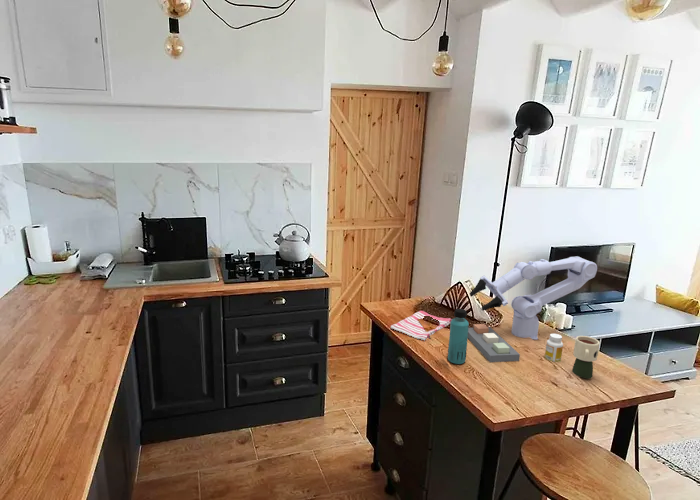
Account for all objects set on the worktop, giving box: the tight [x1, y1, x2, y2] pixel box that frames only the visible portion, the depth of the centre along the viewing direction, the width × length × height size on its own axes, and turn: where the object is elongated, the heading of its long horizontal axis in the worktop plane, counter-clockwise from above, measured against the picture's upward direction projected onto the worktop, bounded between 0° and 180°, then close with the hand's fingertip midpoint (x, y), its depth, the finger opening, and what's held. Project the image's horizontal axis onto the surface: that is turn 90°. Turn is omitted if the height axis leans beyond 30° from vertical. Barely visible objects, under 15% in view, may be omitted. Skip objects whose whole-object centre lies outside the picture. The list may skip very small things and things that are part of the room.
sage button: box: [493, 343, 510, 354], centre depth 160 cm, size 4×4×3 cm
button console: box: [467, 326, 521, 363], centre depth 169 cm, size 11×24×4 cm, turn 8°
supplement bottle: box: [544, 333, 564, 363], centre depth 160 cm, size 5×5×10 cm
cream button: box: [483, 333, 499, 343], centre depth 168 cm, size 4×4×3 cm
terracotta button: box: [473, 323, 489, 334], centre depth 177 cm, size 4×4×3 cm
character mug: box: [571, 335, 601, 379], centre depth 150 cm, size 11×7×13 cm, turn 154°
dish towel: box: [390, 310, 453, 342], centre depth 188 cm, size 17×23×4 cm
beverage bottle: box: [446, 308, 470, 365], centre depth 155 cm, size 6×7×20 cm
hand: (476, 301), depth 174 cm, fingers open, 7 cm apart
